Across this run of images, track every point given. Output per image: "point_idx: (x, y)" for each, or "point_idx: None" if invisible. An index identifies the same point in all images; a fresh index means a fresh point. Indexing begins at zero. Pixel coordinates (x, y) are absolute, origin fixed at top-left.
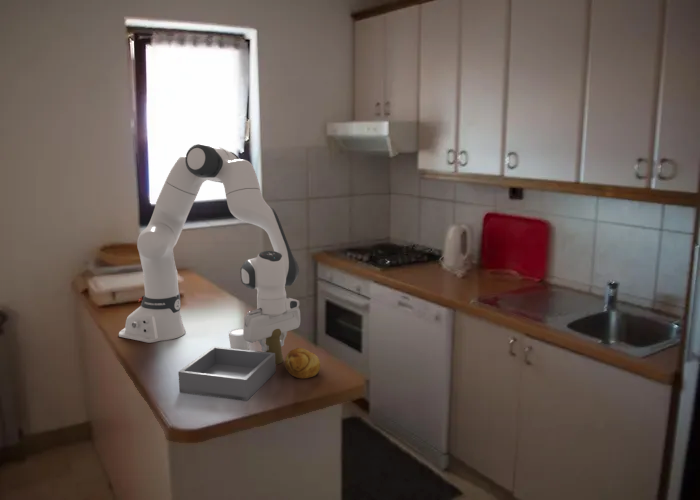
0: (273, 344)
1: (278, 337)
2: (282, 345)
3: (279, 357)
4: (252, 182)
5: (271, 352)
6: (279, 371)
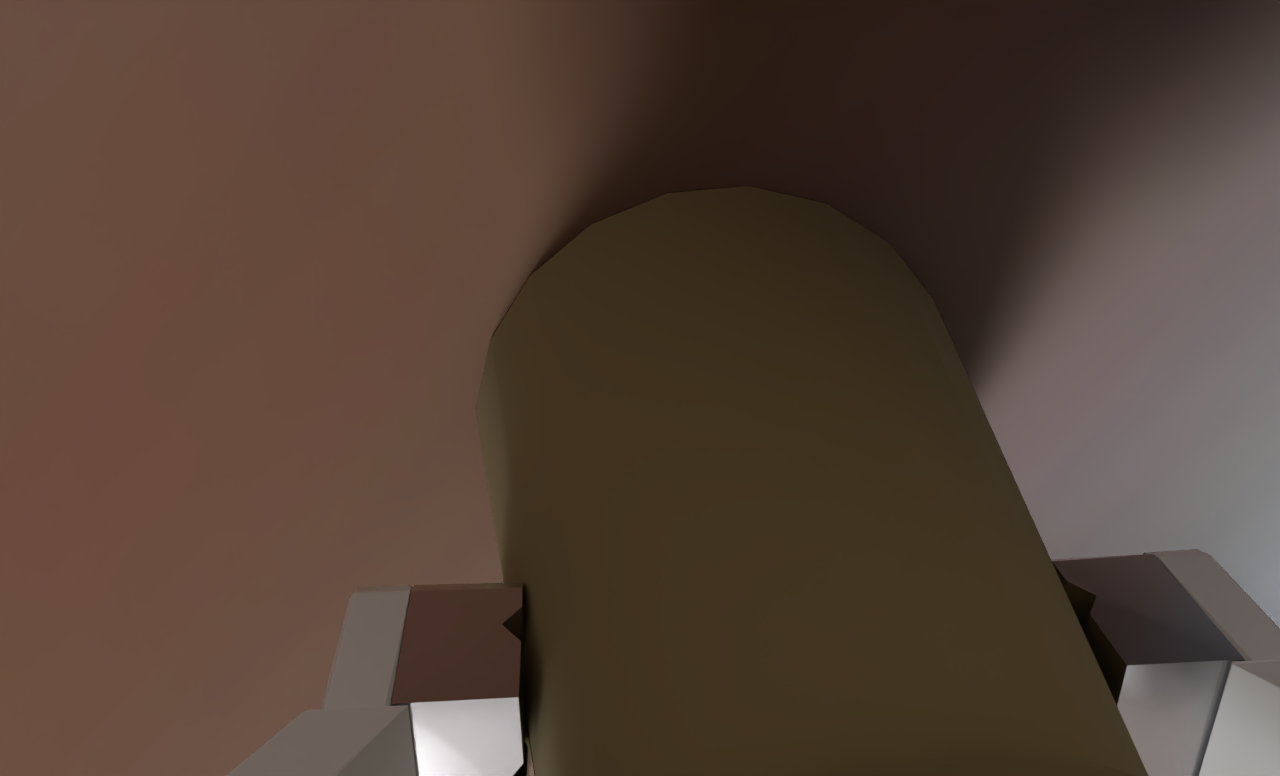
0: (1030, 595)
1: (878, 758)
2: (428, 586)
3: (736, 263)
4: None
5: (991, 453)
6: None
